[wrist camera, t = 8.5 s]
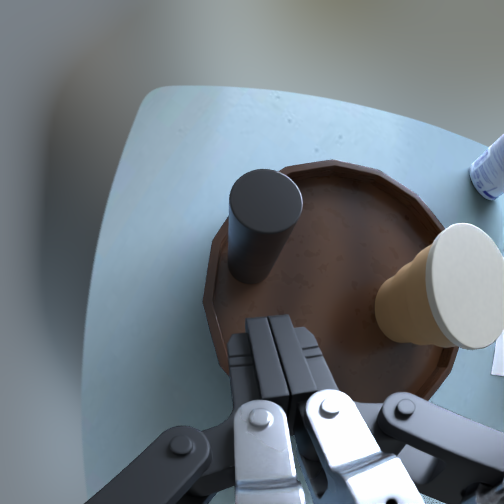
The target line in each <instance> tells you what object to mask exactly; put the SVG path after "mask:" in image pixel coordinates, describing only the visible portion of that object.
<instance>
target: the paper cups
mask: <svg viewBox="0 0 504 504" xmlns="http://www.w3.org/2000/svg"><path fill="white" fill-rule="evenodd" d="M375 317H376V320H377V323H378V325H379V327H380V329H381V331H382V332H383V333H384V334H385V336H387V337H388V338H389V339H391V340H392V341H395V342H398V343H413V344H416V345H430V344H434V345H436V346H439V347H455V346H458V347H460V348H463V349H467V350H475V349H482V348H485V347H487V346H489V345H491V344H492V343H493V342H494V341H495V340H496V339H497V338H498V337H499V336H500V335H501V333H502V331H503V330H504V259H503V256H502V254H501V252H500V251H499V249H498V247H497V246H496V244H495V243H494V241H493V240H492V239H491V238H490V237H489V236H488V235H487V234H486V233H485V232H484V231H483V230H481V229H480V228H478V227H476V226H474V225H471V224H468V223H457V224H454V225H451V226H449V227H448V228H446V229H445V230H443V231H442V232H441V233H440V234H439V235H438V236H437V237H436V239H435V240H434V242H433V244H431V245H429V246H428V247H426V248H425V249H423V250H422V251H421V252H420V253H418V254H417V256H416V257H415V258H414V260H413V261H412V262H410V263H408V264H406V265H405V266H403V267H402V268H401V269H400V270H399V271H398V272H397V273H396V275H395V276H393V277H391V278H389V279H388V280H386V281H385V282H384V283H383V284H382V286H381V287H380V289H379V291H378V293H377V296H376V299H375Z"/></svg>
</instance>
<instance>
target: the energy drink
mask: <svg viewBox="0 0 504 504" xmlns="http://www.w3.org/2000/svg"><path fill="white" fill-rule="evenodd" d="M470 177H471V180H472V183H473V185H474V187H475V188H476V190H477V191H478V192H479V193H480V194H481V195H482V196H483V197H484V198H486V199H489V200H495V199H496V198H498V197H499V196H500V195H502V194H503V193H504V134H503V135H502V136H501V137H500V138H499V139H498V140H497V141H496V142H495V143H493V144H492V145H491V146H490V147H489V148H488V149H487V150H486V151H485V152H484V153H483V154H482V155H481V156H480V157H479V158H478V159H477V160H476V161H474V162H473V163H472V164H471V166H470Z"/></svg>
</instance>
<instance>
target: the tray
mask: <svg viewBox="0 0 504 504" xmlns="http://www.w3.org/2000/svg"><path fill="white" fill-rule="evenodd" d="M443 230H445V228H444V227H443V225H442V224H441V223H440V221H439V220H438V219H437V218H436V216H435V215H434V214H433V213H432V211H431V210H430V209H429V208H428V206H427V205H426V204H425V203H424V201H423V200H422V199H421V198H420V197H419V196H418V195H417V194H416V193H414V192H413V191H411V190H410V189H408V188H407V187H405V186H404V185H402V184H401V183H399V182H398V181H396V180H395V179H393V178H391V177H390V176H388V175H387V174H385V173H383V172H382V171H380V170H378V169H374V168H369V167H365V166H361V165H357V164H352V163H348V162H343V161H339V160H326V161H319V162H312V163H306V164H299V165H293V166H287V167H285V168H283V169H282V170H280V171H275V170H270V169H258V170H253V171H250V172H248V173H246V174H244V175H243V176H241V177H240V178H239V179H238V180H237V181H236V182H235V183H234V185H233V187H232V189H231V192H230V197H229V216H228V217H227V219H226V220H225V222H224V223H223V225H222V226H221V228H220V230H219V231H218V233H217V234H216V236H215V237H214V239H213V241H212V245H211V251H210V257H209V263H208V269H207V276H206V282H205V288H204V295H203V306H204V310H205V314H206V317H207V321H208V325H209V329H210V333H211V336H212V340H213V344H214V347H215V351H216V354H217V358H218V361H219V365H220V366H221V368H222V369H223V370H224V371H225V373H226V374H227V375H228V376H229V365H228V352H227V343H228V341H229V339H230V337H231V335H232V334H237V333H245V318H254V317H267V316H275V315H285V314H288V315H289V317H290V319H291V322H292V324H293V327H294V328H297V327H305V328H306V329H307V330H308V331H309V332H311V333H312V334H313V335H314V337H315V339H316V341H317V343H318V346H319V348H320V350H321V352H322V356H323V357H324V359H325V361H326V363H327V365H328V368H329V370H330V372H331V374H332V377H333V379H334V381H335V383H336V385H337V388H338V389H339V391H340V392H343V393H345V394H346V395H348V396H349V397H350V398H351V400H352V401H355V402H360V403H384V401H385V400H386V398H387V397H389V396H390V395H392V394H394V393H397V392H407V393H411V394H413V395H416V396H418V397H420V398H422V399H424V400H427V401H429V399H430V398H431V397H432V396H433V394H434V393H435V392H436V391H437V389H438V388H439V387H440V386H441V384H442V383H443V382H444V380H445V379H446V378H447V376H448V375H449V374H450V372H451V370H452V367H453V364H454V361H455V358H456V355H457V352H458V349H459V347H458V346H455V347H439V346H436V345H434V344H430V345H416V344H413V343H398V342H395V341H392V340H391V339H389V338H388V337H387V336H385V334H384V333H383V332H382V331H381V329H380V327H379V325H378V323H377V320H376V317H375V299H376V296H377V293H378V291H379V289H380V287H381V286H382V284H383V283H384V282H385V281H386V280H388V279H389V278H391V277H393V276H395V275H396V273H397V272H398V271H399V270H400V269H401V268H402V267H403V266H405V265H406V264H408V263H410V262H412V261H413V260H414V258H415V257H416V256H417V254H418V253H420V252H421V251H422V250H423V249H425V248H426V247H428V246H429V245H431V244H433V242H434V240H435V239H436V237H437V236H438V235H439V234H440V233H441V232H442V231H443ZM229 378H230V376H229Z"/></svg>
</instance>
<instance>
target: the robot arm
mask: <svg viewBox="0 0 504 504" xmlns="http://www.w3.org/2000/svg"><path fill="white" fill-rule="evenodd" d="M227 352H228V365H229V376H230V385H231V393H232V402H233V410H232V413H231V415H230V416H229V417H228V419H227V420H225V421H224V422H223V423H221V424H220V425H218V426H215V427H213V428H210V429H207V430H204V431H200V430H198V429H196V428H194V427H190V426H176V427H172V428H169V429H167V430H166V431H164V432H163V433H162V434H161V435H160V436H159V437H158V438H157V439H156V440H154V441H153V442H152V443H151V444H150V445H149V446H148V447H147V448H146V449H145V450H144V451H143V452H142V453H141V454H140V455H139V456H138V457H136V458H135V459H134V460H133V461H132V462H131V463H130V464H129V465H128V466H127V467H126V468H124V469H123V470H122V471H121V472H120V473H119V474H118V475H117V476H116V477H114V478H113V479H112V480H111V481H110V482H109V483H108V484H106V485H105V486H104V487H103V488H102V489H101V490H100V491H98V492H97V493H96V494H95V495H94V496H93V497H91V498H90V499H89V500H88V501H87V502H85V503H84V504H208V503H209V502H210V501H211V500H212V498H213V497H214V496H215V495H216V494H217V492H219V491H222V490H224V489H227V488H230V487H232V486H235V504H306V503H305V497H304V492H303V488H302V485H301V483H300V481H298V479H297V476H296V471H295V465H294V459H293V453H292V447H291V441H290V436H292V435H294V436H295V440H296V443H297V447H296V457H297V460H298V462H299V465H300V468H301V470H302V473H303V476H304V478H305V481H306V483H307V486H308V489H309V491H310V494H311V496H312V499H313V503H314V504H425V502H424V500H423V499H422V497H421V495H420V494H419V493H422V494H424V495H426V496H429V497H431V498H434V499H436V500H439V501H441V502H444V503H446V504H504V433H503V432H501V431H498V430H496V429H493V428H491V427H488V426H486V425H483V424H481V423H478V422H476V421H473V420H471V419H468V418H466V417H464V416H461V415H459V414H456V413H454V412H452V411H449V410H447V409H445V408H442V407H440V406H438V405H436V404H433V403H431V402H429V401H427V400H424V399H422V398H420V397H418V396H416V395H413V394H411V393H407V392H397V393H394V394H392V395H390V396H389V397H387V398H386V400H385V401H384V403H360V402H355V401H352V400H351V398H350V397H349V396H348V395H346V394H345V393H343V392H340V391H339V389H338V388H337V385H336V383H335V381H334V379H333V377H332V374H331V372H330V370H329V368H328V365H327V363H326V361H325V359H324V357H323V356H322V352H321V350H320V348H319V346H318V343H317V341H316V339H315V337H314V335H313V334H312V333H311V332H309V331H308V330H307V329H306V328H305V327H297V328H294V327H293V324H292V322H291V319H290V317H289V315H288V314H285V315H275V316H267V317H254V318H245V333H237V334H232V335H231V337H230V339H229V341H228V343H227Z"/></svg>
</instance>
